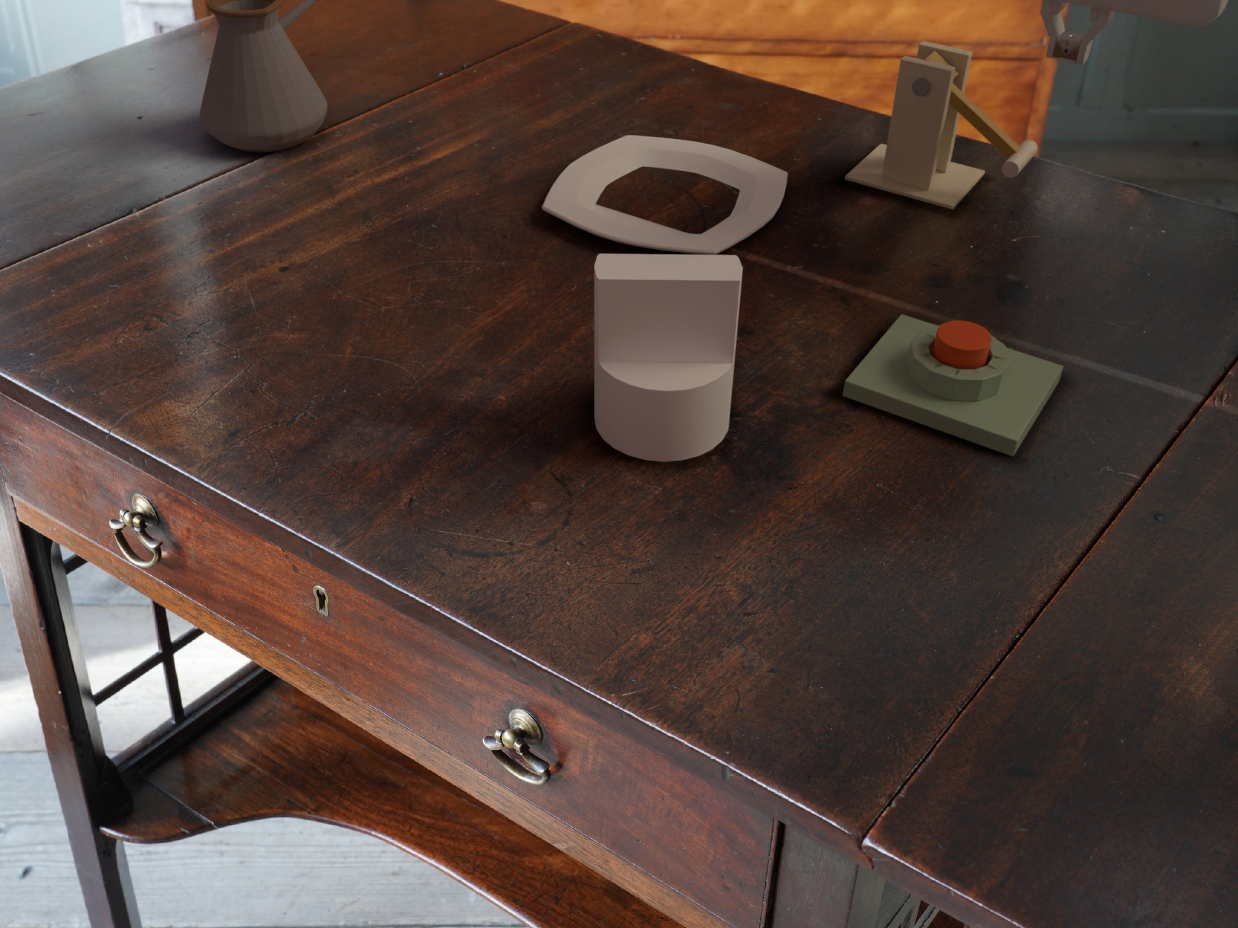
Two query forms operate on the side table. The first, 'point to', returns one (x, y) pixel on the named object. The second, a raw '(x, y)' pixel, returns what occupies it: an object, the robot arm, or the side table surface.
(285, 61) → the coffee pot
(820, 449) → the side table surface
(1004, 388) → the button housing
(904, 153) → the bracket
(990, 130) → the lever handle
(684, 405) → the cylinder with rectangular tab
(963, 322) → the lamp button
